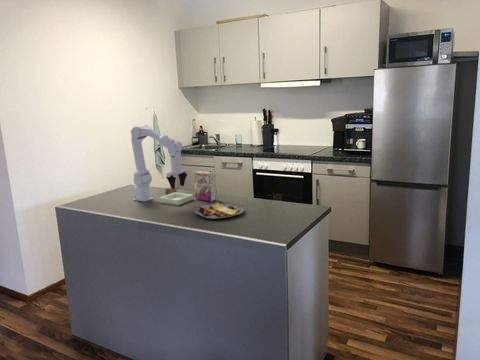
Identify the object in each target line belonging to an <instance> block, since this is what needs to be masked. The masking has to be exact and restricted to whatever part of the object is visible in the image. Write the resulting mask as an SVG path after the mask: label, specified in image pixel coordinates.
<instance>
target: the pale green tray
mask: <svg viewBox="0 0 480 360" xmlns="http://www.w3.org/2000/svg"><path fill="white" fill-rule="evenodd" d="M193 200H194V194H191V193H189V194H188V193H183V192H178V191H177V192H175V193H171V194H168V195H166V194H165V195H162V196H160V197H158V202H159V204H165V205H172V206H180V205H182V204H185V203H188V202H191V201H193Z"/></svg>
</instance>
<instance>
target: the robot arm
mask: <svg viewBox="0 0 480 360" xmlns="http://www.w3.org/2000/svg"><path fill="white" fill-rule="evenodd" d="M130 134H131V138H130V140H131V146H132V151H133V157H134V164H135V171H134V173H133V183H134V187H133V199H132V200H133V201H138V202H149V201H150V200H153V199H154V197H151V189H150V188H151V187H150V186H151V182H153V181H152V180H153V178H152V175H151V173H150V170H149V169H148V168H147V167H146V162H145V156H144V150H143V149H144V148H143V145H142V142H143V141H144V139H146V138H147V137H150V138H151V139H154V140H155V141H158V144H159V145H161V146H162V147H164V148H166V149H167V151H168V152H169V156H170V167H171V171H169V172H167V173H166V176H165V177H166V180H167V181H168V183H169V185H170V186H169V187H171V189H175V187H176V180H177V177H176V176H178V179H179V184H180V187H185V182H186V178H187V177H188V173H187V172H188V171H187V169H186V168H184V169H183V168H182V153H181V152H182V150H183V144H182V142H181V141H179V140H177V141H175V139H172V138H170V137H169V136H168V135H166V134H165V135H161V133H158V132H157V131H156V130H154V129H153V128H152V127H151V126H149V125H147V124H144V125H138V126H137V125H135V126H132V128H131V130H130Z"/></svg>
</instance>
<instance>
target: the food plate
mask: <svg viewBox="0 0 480 360" xmlns="http://www.w3.org/2000/svg"><path fill="white" fill-rule="evenodd" d="M244 211H245V210H244V208H243V207H241V205H237V204H230V203H219V201H216V202H214V203H210V204H206V205H202V206H201V205H200V206H198V207H197V208H196V209H194V214H196V215H199V216H201V217H202V218H206V219H212V220H213V219H225V218H231V217H234V216H237V215H240V214H242V213H243V212H244Z"/></svg>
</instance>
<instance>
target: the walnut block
mask: <svg viewBox="0 0 480 360" xmlns="http://www.w3.org/2000/svg"><path fill="white" fill-rule="evenodd" d="M164 190H165V195H168V194H171V193H175V192H177V193H178V187H176V186H175V189H171V186H169V187H165V188H164Z"/></svg>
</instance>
